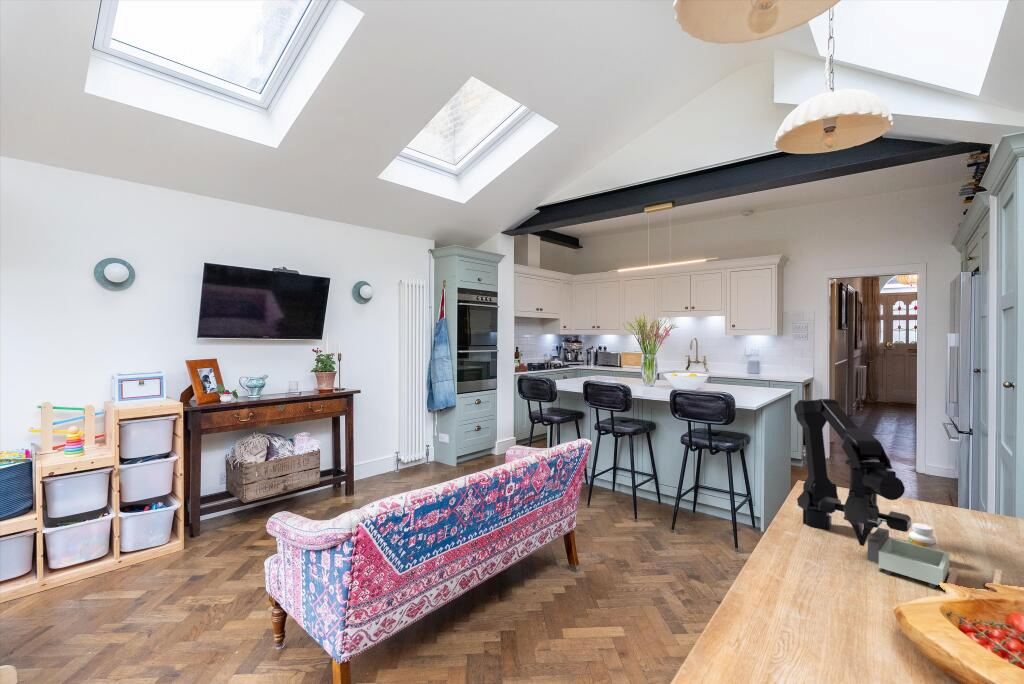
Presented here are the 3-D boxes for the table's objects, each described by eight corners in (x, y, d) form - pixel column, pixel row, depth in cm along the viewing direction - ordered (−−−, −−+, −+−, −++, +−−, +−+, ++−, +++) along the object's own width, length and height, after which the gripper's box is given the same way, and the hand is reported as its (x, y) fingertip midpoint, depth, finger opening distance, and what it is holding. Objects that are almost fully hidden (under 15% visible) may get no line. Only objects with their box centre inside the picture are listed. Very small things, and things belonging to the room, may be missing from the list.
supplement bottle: (902, 558, 124) (903, 522, 123) (922, 557, 124) (922, 521, 124) (921, 568, 118) (921, 530, 118) (941, 568, 118) (942, 530, 118)
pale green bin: (867, 568, 116) (867, 540, 116) (878, 554, 123) (878, 527, 123) (942, 591, 105) (942, 560, 105) (948, 574, 113) (949, 545, 113)
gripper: (812, 484, 123) (811, 542, 123) (903, 503, 108) (902, 569, 109) (825, 475, 130) (824, 530, 130) (911, 492, 116) (911, 554, 116)
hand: (862, 545), depth 121 cm, fingers closed
